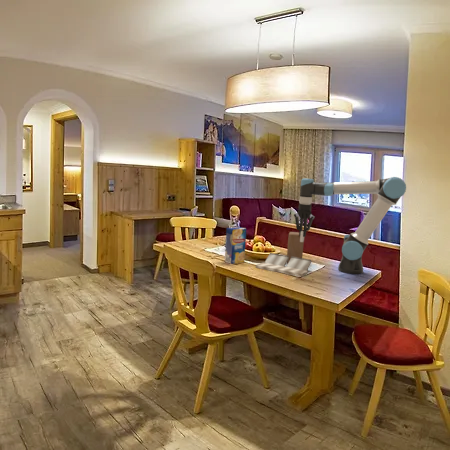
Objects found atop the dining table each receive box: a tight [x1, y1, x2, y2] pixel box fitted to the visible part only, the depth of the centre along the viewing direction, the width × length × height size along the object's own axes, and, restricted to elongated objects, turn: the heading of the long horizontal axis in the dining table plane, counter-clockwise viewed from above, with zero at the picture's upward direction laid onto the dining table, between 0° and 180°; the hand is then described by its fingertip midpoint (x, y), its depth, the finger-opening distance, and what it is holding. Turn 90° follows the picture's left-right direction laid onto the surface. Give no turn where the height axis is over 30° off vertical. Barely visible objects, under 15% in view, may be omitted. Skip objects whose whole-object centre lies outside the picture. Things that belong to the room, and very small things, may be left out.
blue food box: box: [224, 226, 247, 265], centre depth 259 cm, size 7×11×22 cm, turn 128°
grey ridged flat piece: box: [264, 252, 289, 267], centre depth 256 cm, size 13×9×2 cm
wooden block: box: [286, 231, 305, 264], centre depth 266 cm, size 10×10×20 cm
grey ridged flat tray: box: [255, 262, 309, 277], centre depth 245 cm, size 30×10×2 cm, turn 59°
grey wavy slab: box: [286, 256, 312, 271], centre depth 248 cm, size 13×9×2 cm
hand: (301, 241), depth 248 cm, fingers closed
